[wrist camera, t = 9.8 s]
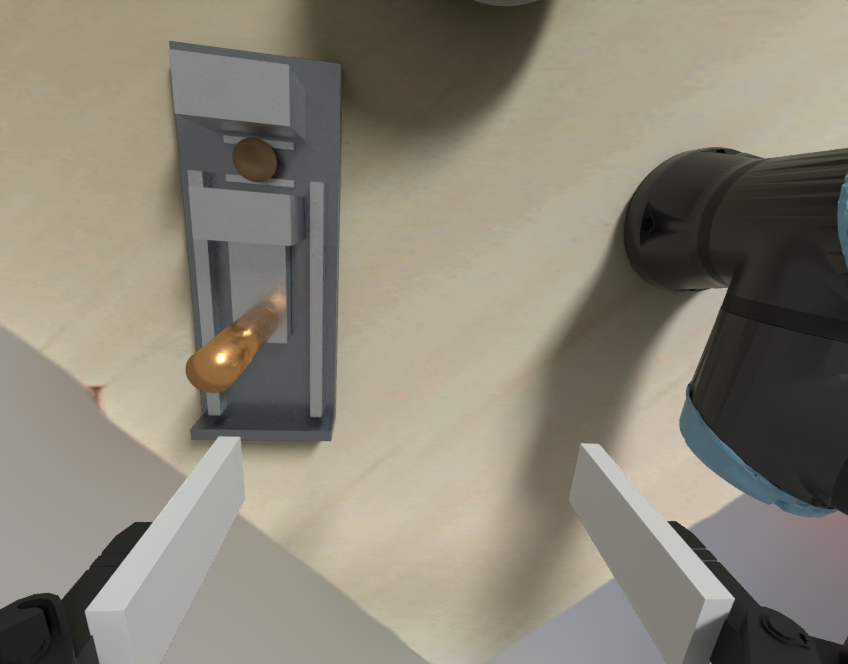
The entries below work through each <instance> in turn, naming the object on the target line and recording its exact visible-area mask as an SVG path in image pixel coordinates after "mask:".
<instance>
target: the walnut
mask: <svg viewBox="0 0 848 664" xmlns="http://www.w3.org/2000/svg"><path fill="white" fill-rule="evenodd" d="M232 160H233V164H234V167H235V169H236V170H237V172H238V173H239V174H240V175H241V176H242V177H243V178H245V179H247V180H249V181H252V182H264V181H267V180H268V179H270V178H271V177H272V176H273V175H274V173H275V171H276V168H277V159H276V155H275V153H274V151H273V149H272V148H271V147H270V146H269V145H268V144H267V143H266V142H264V141H263V140H261V139H258V138H252V137H251V138H245V139H242V140H240V141H239V142H238V143H237V144H236V145H235V147H234V149H233V153H232Z"/></svg>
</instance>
